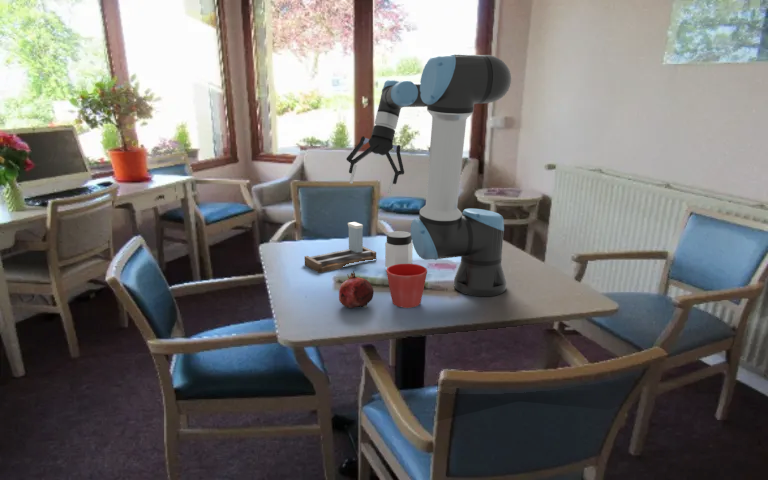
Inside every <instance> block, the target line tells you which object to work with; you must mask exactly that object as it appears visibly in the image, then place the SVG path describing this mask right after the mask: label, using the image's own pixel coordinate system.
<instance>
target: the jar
mask: <svg viewBox="0 0 768 480" xmlns="http://www.w3.org/2000/svg"><path fill="white" fill-rule="evenodd" d="M384 246H385V248H384V249H385V253H384V255H385V259H384V260H385V267H387V268H388V267H390V266H393V265H397V264H413V247H414V245H413V242H412V237H411V232H409V231H403V230H402V231H401V230H395V231H390V232H387V233H386V242H385V244H384Z"/></svg>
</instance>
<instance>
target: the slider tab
mask: <svg viewBox="0 0 768 480" xmlns="http://www.w3.org/2000/svg"><path fill="white" fill-rule="evenodd" d="M347 226H348V249H349V250H352V251H351V254H354V253H359V252H363V247H364V245H363V242H364V241H363V240H364V239H363V228H364V224H362V223H359V222H357V221H352V222H347Z"/></svg>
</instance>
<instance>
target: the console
mask: <svg viewBox="0 0 768 480" xmlns="http://www.w3.org/2000/svg"><path fill="white" fill-rule="evenodd" d="M351 251H352V250H349V248H348V249H347V248H346V249H343V250H338V251H334V252H333V251H332V252H328V253H323V254H317V255H312V256H308V255H305V256H304V266H306V267H308V268H309V269H311V270H313V272H316V273H317V274H320V273H325V272H331V271H335V270H338V269H343V268H342V267H343V266H345V265H346V264H349V263H354V262H359V261H365V260H373V259H376V260H377V252H376V251H374V250H373V249H369V248H367V247H365V246H363V252H359V253H354V254H351Z"/></svg>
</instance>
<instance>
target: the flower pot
mask: <svg viewBox="0 0 768 480" xmlns="http://www.w3.org/2000/svg"><path fill="white" fill-rule="evenodd" d="M385 271H386V277H387V281H388V282H387V283H388V287H389V288H388V289H389V292H390V297H391V302H392V304H393V305H394V306H396V307H398V308H405V309H411V308H415V307H418V306H420V305H421V302H422V298H423V295H424V294H423V293H424V290H425V285H426V279H427V274H428V269H427V268H426V267H425V266H423V265H420V264H415V263H412V264H397V265H393V266H390V267H388V268H387V270H386V269H385Z"/></svg>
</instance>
